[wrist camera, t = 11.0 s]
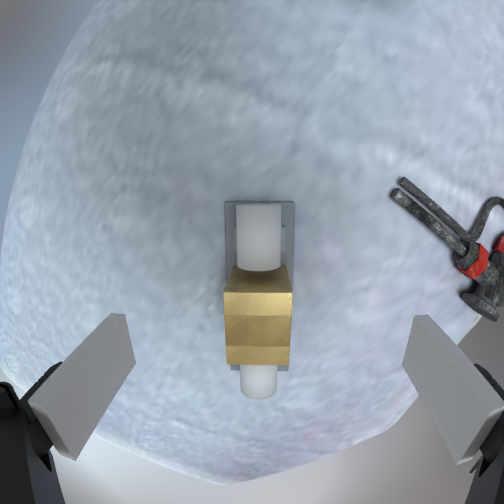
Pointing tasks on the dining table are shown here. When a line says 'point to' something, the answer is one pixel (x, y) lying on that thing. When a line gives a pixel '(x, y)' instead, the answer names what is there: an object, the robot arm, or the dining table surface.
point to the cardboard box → (258, 316)
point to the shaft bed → (259, 267)
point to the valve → (464, 249)
